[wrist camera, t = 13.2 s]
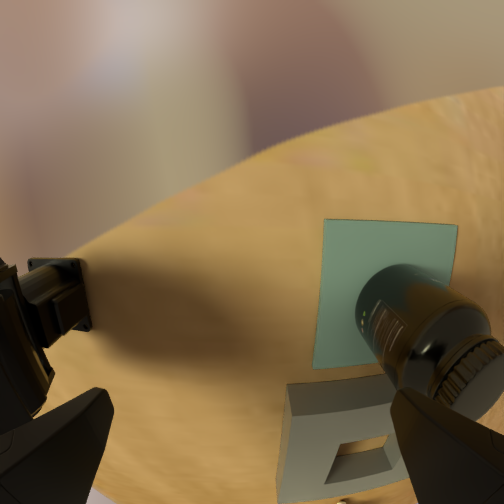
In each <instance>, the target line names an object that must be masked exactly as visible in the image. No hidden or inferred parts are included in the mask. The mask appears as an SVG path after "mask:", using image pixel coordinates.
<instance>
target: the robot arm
mask: <svg viewBox="0 0 504 504" xmlns="http://www.w3.org/2000/svg"><path fill="white" fill-rule="evenodd" d="M73 263H75V266H74V265H73ZM28 269H29V272H28V273H26V274H24V275H22V276H20V277H18V276H17V268H16V264H15V265H9V266H8V264H6V263H4V261H3V260H2V259H1V258H0V504H86V502H87V498H88V496H89V493H90V490H91V487H92V484H93V481H94V478H95V475H96V472H97V470H98V467H99V464H100V461H101V459H102V456H103V453H104V450H105V447H106V443H107V439H108V435H109V431H110V427H111V423H112V419H113V415H114V407H113V404H112V402H111V399H110V396H109V394H108V392H107V390H105V389H102V388H98V387H94V388H92V389H90V390H88V391H86V392H85V393H83V394H81V395H79V396H77V397H75V398H74V399H72V400H70V401H68V402H66V403H64V404H62V405H61V406H59V407H57V408H55V409H53V410H51V411H49V412H47V413H45V414H43V415H41V416H40V417H38V418H36V419H33V417H34V416H35V415H36V414H37V413H38V412H39V411H40V410H41V408H42V406H43V405H44V403H45V402H46V400H47V396H46V395H47V393H48V390H49V388H50V385H51V383H52V380H53V378H54V375H55V372H54V370H53V368H52V367H51V366H50V364H49V362H48V359H47V357H46V355H45V353H44V351H43V349H44V348H49V347H50V346H52V345H53V344H54V343H55V342H56V341H57V340H58V339H59V338H60V337H61V336H64V335H66V334H67V333H68V332H69V331H70V330H78V331H84V332H89V331H90V330H91V329H92V323H91V319H90V314H89V309H88V304H87V299H86V294H85V289H84V285H83V279H82V273H81V266H80V262H79V260H78V259H76V258H30V259H28ZM85 324H86V325H87V326H88V327H87V326H86V325H85ZM390 415H391V419H392V422H393V426H394V430H395V434H396V438H397V442H398V446H399V449H400V452H401V455H402V458H403V461H404V463H405V466H406V469H407V472H408V474H409V477H410V480H411V483H412V486H413V489H414V492H415V495H416V498H417V501H418V504H504V435H502V434H500V433H498V432H496V431H493V430H491V429H490V430H489V428H487V427H485V426H483V425H481V424H479V423H477V422H475V421H473V420H471V419H469V418H467V417H465V416H463V415H461V414H459V413H458V412H456V411H454V410H452V409H450V408H448V407H446V406H444V405H442V404H440V403H438V402H437V401H435V400H433V399H431V398H429V397H427V396H425V395H424V394H422V393H420V392H418V391H416V390H415V389H413V388H411V387H405V388H401V389H398V390H397V391H396V394H395V396H394V399H393V401H392V404H391V407H390Z"/></svg>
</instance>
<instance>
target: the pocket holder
mask: <svg viewBox="0 0 504 504" xmlns="http://www.w3.org/2000/svg"><path fill="white" fill-rule="evenodd" d="M396 391H397V390H396V389H395V387H394V385H393V384H392V382H391V381H390V379H389V377H388V376H387V374H381V375H375V376H368V377H361V378H354V379H346V380H337V381H327V382H316V383H302V384H287V387H286V398H285V408H284V417H283V427H282V435H281V444H280V452H279V460H278V468H277V475H276V489H277V503H278V504H282V503H295V502H305V501H313V500H320V499H327V498H333V497H338V496H344V495H348V494H353V493H358V492H362V491H366V490H370V489H374V488H377V487H381V486H385V485H388V484H391V483H394V482H397V481H401V480H403V479H406V478H409V474H408V472H407V469H406V466H405V463H404V461H403V458H402V455H401V452H400V449H399V446H398V442H397V438H396V434H395V430H394V426H393V422H392V419H391V415H390V407H391V404H392V401H393V399H394V396H395V394H396ZM387 434H389V436H388V438H387V440H386V442H385V444H384V446H383V447H382V448H378V449H373V450H369V451H364V452H360V453H355V454H349V455H344V456H338V457H335V456H336V454H337V451H338V449H339V446H340V444H344V443H350V442H355V441H361V440H365V439H370V438H375V437H379V436H383V435H387Z"/></svg>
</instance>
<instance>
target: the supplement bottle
mask: <svg viewBox="0 0 504 504" xmlns="http://www.w3.org/2000/svg"><path fill="white" fill-rule="evenodd" d="M355 322H356V326H357V328H358V330H359V332H360V334H361V336H362V337H363V339H364V340H365V342H366V343H367V345H368V347H369V348H370V350H371V351H372V353H373V354H374V356H375V357H376V359H377V360H378V362H379V363H380V365H381V367H382V368H383V370H384V371H385V373H386V374H387V376H388V377H389V379H390V381H391V382H392V384H393V385H394V387H395V389H396V390H398V389H401V388H405V387H411V388H413V389H415V390H416V391H418V392H420V393H422V394H424V395H425V396H427V397H429V398H431V399H433V400H435V401H437V402H438V403H440V404H442V405H444V406H446V407H448V408H450V409H452V410H454V411H456V412H458V413H459V414H461V415H463V416H465V417H467V418H469V419H471V420H473V421H475V422H476V421H477V420H478V419H480V418H481V417H482V416H483V415H484V414H485V413H487V411H488V410H489V409H490V408H491V407H492V406H493V405H494V404H495V402H496V401H497V400H498V399H499V397H500V396H501V394H502V393H503V392H504V347H503V346H502V345H501V344H500V343H499V341H498V340H496V339H495V338H494V337H493V336H491V327H490V322H489V319H488V317H487V315H486V313H485V311H484V310H483V309H482V308H481V307H480V306H479V305H477V304H476V303H475V302H473V301H472V300H470V299H468V298H467V297H465V296H463V295H462V294H460V293H459V292H457V291H455V290H454V289H452V288H450V287H449V286H447V285H445V284H443V283H442V282H440V281H438V280H437V279H435V278H433V277H431V276H430V275H428V274H426V273H424V272H423V271H421V270H419V269H417V268H415V267H413V266H410V265H406V264H396V265H391V266H388V267H386V268H384V269H382V270H380V271H379V272H377V273H376V274H375V275H373V276H372V277H371V278H370V279H369V280H368V281H367V283H366V284H365V285H364V287H363V288H362V290H361V292H360V294H359V296H358V299H357V302H356V307H355Z"/></svg>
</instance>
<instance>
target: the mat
mask: <svg viewBox="0 0 504 504" xmlns="http://www.w3.org/2000/svg"><path fill="white" fill-rule="evenodd" d="M457 227H458V226H457V225H451V224H436V223H419V222H400V221H378V220H349V219H324V235H323V255H322V271H321V284H320V297H319V308H318V318H317V328H316V337H315V345H314V354H313V361H312V367H313V369H326V368H337V367H347V366H355V365H363V364H371V363H378V360H377V359H376V357H375V356H374V354H373V353H372V351H371V350H370V348H369V347H368V345H367V343H366V342H365V340H364V339H363V337H362V336H361V334H360V332H359V330H358V328H357V326H356V322H355V307H356V302H357V299H358V296H359V294H360V292H361V290H362V288H363V287H364V285H365V284H366V283H367V281H368V280H369V279H370V278H371V277H372V276H373V275H375V274H376V273H377V272H379V271H380V270H382V269H384V268H386V267H388V266H391V265H396V264H406V265H410V266H413V267H415V268H417V269H419V270H421V271H423V272H424V273H426V274H428V275H430V276H431V277H433V278H435V279H437V280H438V281H440V282H442V283H443V284H445V285H447V286H449V283H450V278H451V272H452V266H453V260H454V253H455V246H456V237H457Z"/></svg>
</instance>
